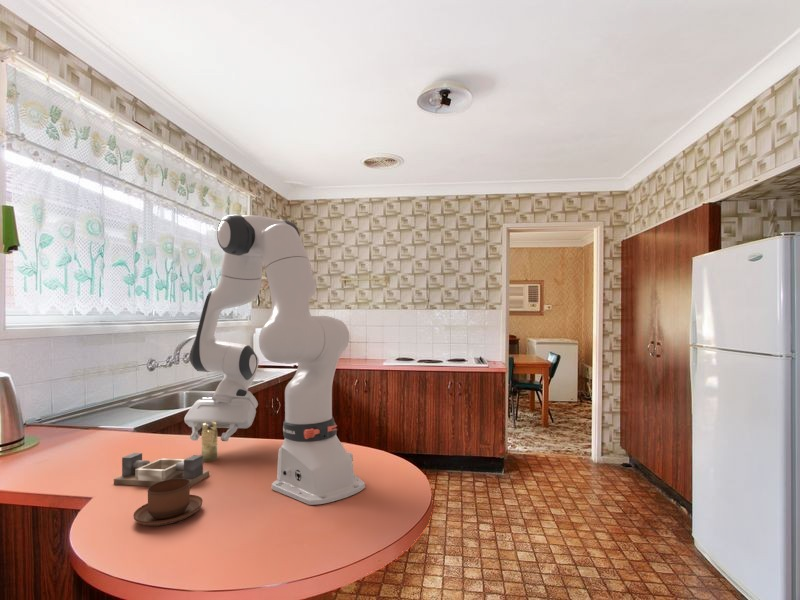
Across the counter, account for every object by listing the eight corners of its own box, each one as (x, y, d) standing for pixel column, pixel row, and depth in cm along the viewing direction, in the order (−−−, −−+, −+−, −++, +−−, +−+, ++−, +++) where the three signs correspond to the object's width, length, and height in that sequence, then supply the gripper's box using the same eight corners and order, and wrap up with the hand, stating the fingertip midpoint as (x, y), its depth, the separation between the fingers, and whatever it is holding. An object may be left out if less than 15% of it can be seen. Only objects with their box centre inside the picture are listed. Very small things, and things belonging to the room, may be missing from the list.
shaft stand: (209, 475, 105) (209, 452, 105) (187, 488, 97) (187, 463, 97) (140, 472, 109) (140, 450, 109) (113, 484, 101) (113, 460, 101)
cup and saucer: (125, 519, 83) (125, 487, 83) (188, 498, 92) (188, 470, 92) (145, 539, 75) (145, 503, 75) (212, 514, 84) (212, 483, 84)
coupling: (219, 459, 117) (219, 423, 118) (204, 463, 115) (203, 425, 115) (215, 456, 120) (214, 420, 121) (200, 459, 118) (199, 423, 118)
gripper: (193, 391, 127) (169, 433, 117) (255, 391, 123) (236, 434, 113) (203, 403, 131) (181, 444, 121) (263, 404, 127) (245, 446, 117)
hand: (208, 439), depth 117 cm, fingers open, 8 cm apart
